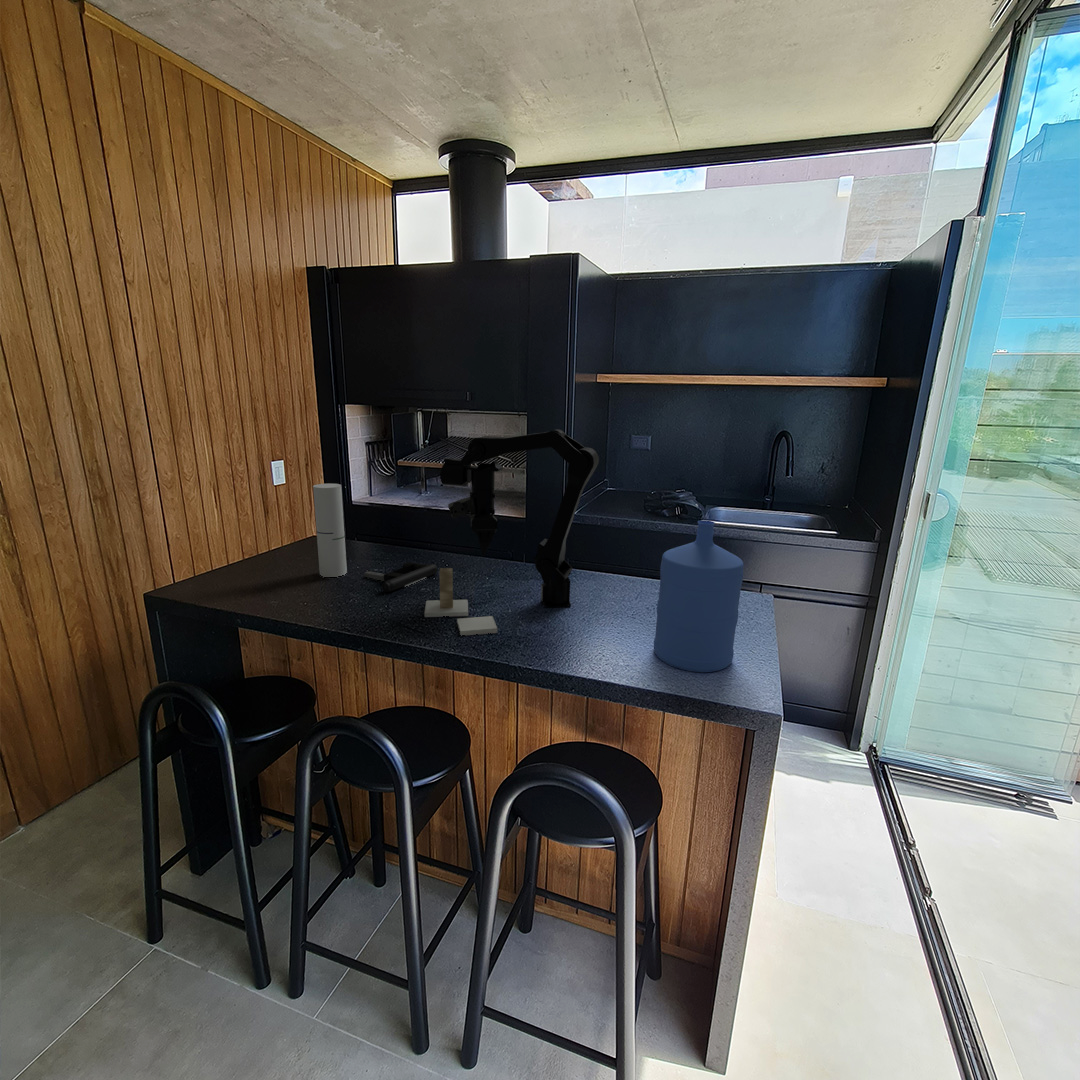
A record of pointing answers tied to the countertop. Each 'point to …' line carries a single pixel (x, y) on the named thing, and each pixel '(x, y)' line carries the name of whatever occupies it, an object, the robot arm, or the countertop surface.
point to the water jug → (698, 604)
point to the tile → (476, 625)
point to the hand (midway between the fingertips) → (482, 548)
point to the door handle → (403, 575)
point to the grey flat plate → (446, 609)
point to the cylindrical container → (330, 529)
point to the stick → (446, 588)
